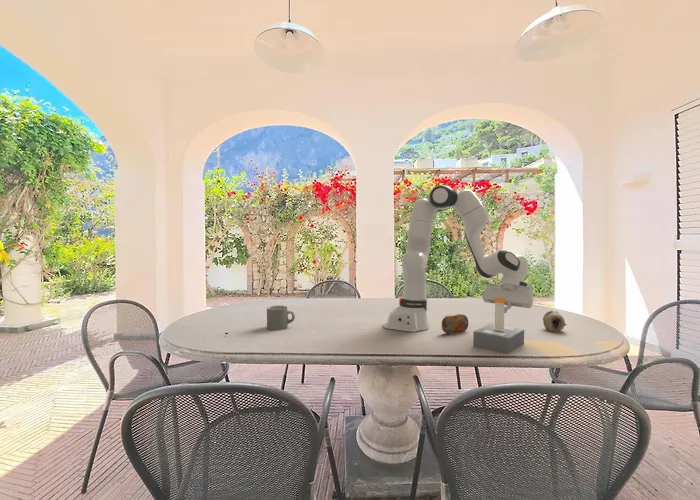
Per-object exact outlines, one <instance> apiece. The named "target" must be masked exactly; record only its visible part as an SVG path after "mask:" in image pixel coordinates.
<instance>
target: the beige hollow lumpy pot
mask: <svg viewBox="0 0 700 500" xmlns="http://www.w3.org/2000/svg"><path fill="white" fill-rule="evenodd" d="M542 321H543V322H542V323H543V326H544V328H545V330H548V331H550V332H557V333H558V332H560V331H563V329H564V328H565V327H566V326H567V323H566V322H565V318H564V317H563V315H562V314H561V313H559V312H558V310H557V311H556V310H555V311H554V310H549V311H547V312H545V314H544V315H543V316H542Z"/></svg>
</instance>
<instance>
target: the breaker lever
mask: <svg viewBox="0 0 700 500" xmlns="http://www.w3.org/2000/svg"><path fill="white" fill-rule="evenodd" d="M494 302H495V304H494V324H495V328H497V329H502V330H503V329H504V326H505V313H504V307H505V305H504V303H506V298H504V297H494Z"/></svg>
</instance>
